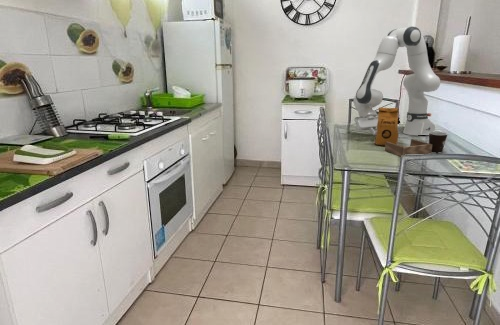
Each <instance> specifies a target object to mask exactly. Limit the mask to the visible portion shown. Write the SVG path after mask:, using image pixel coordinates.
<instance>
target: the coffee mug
mask: <svg viewBox="0 0 500 325" xmlns="http://www.w3.org/2000/svg"><path fill="white" fill-rule="evenodd" d="M447 137H448V133H446V132H441V131H437V132H430V133H429V136H428V143H429V144H432V151H431V153H432V152H442V153H443V151H444V147H445V144H446V140H447Z"/></svg>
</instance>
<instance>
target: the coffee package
mask: <svg viewBox="0 0 500 325" xmlns="http://www.w3.org/2000/svg"><path fill="white" fill-rule="evenodd" d="M378 112H379V114H378V123H377V135H375V139H374V144H375V145H377V146H384V147H385V145H386V142H390V143H393V144H396V145H398V139H399V131H398V123H399V122H398V121H399V108H397V107H393V108H392V107H391V108H390V107H378Z"/></svg>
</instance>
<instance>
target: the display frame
mask: <svg viewBox="0 0 500 325" xmlns="http://www.w3.org/2000/svg"><path fill="white" fill-rule="evenodd" d="M409 145H410V146H402V145H399V144H397V145H396V144H393V143H390V142H386V145H385V146H384V151H385V152H388V153H390V154H393V155H397V156H398V157H401V155H405V154H424V155H429V154H428V153H431V154H432V152H431V151H432V144H429V142H425V141H423V140H422V141H421V140H418V139H415V138H411V139H410V143H409Z"/></svg>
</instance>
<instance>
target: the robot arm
mask: <svg viewBox="0 0 500 325" xmlns="http://www.w3.org/2000/svg"><path fill="white" fill-rule="evenodd" d="M404 47H405V48H406V54H407V62H408V68H409V69H410V70H411V71H412V72H413V73H412V74H408V75H406V76H405V77H404V79H403V82H402V84H403V86H404V88H405V89H406V91H407V95H408V109H407V112H406V120H405V125H404V128H403V130H402V133H403V134H404V135H408V136H418V135H428V134H429V133H430V132H433V131H436V129H435V128H436V126H435V124H434V123H433V121H431V120H430V119H429V117H432V113H429V112H427V111H428V103H429V100H428V99H427V98H426V96H425V93H429V92H431V93H432V92H435V91H437V90H438V89H439V87H440V85H441V78H440V77H439V76H438V75H436V73H435V72H434V71H433V69H432V67H431V64H430V62H429V56H428V49H427V43H426V40H425V38H424V36H423V35H422V33H421V30H420V29H419V28H418V27H416V26H405V27H400V28H396V29H395V28H394V29H393V30H391V31H389V32H388V33H387V35H386V36H384V37H383V38H382V40H381V42H380V44H379V45H378V48H377V50H376V54H375V57H374V59H373V60H372V62H370V63H369V65H368V67H367V69H366V72H365V74H364V77H363V79H362V81H361V84H360V86H359V88H358V89H357V91H356V92H355V95H354V97H353V105H354V108H355V110H356V111H357V113H358V116H355V117H354V119H353V120H354V122H355V127H356V129H357V130H358V131H359V132H361V131H369V132H370V133H371V134H372V136H376V135H377V123H378V114H379V110H378V111H377V110H375V109H373V108H376V107H377V106H379V105H380V104H381V103H382V102H383V99H384V95H383V93H382V91H380V90H377V89H374V88H372V85H373V83H374V81H375V78H376V76H377V74H378V73H380V72H382V71H386V70H388V69H390V68H391V67H392V66H393V64H394V63H395V59H396V56H397V52H398V49H399V48H404Z"/></svg>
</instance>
